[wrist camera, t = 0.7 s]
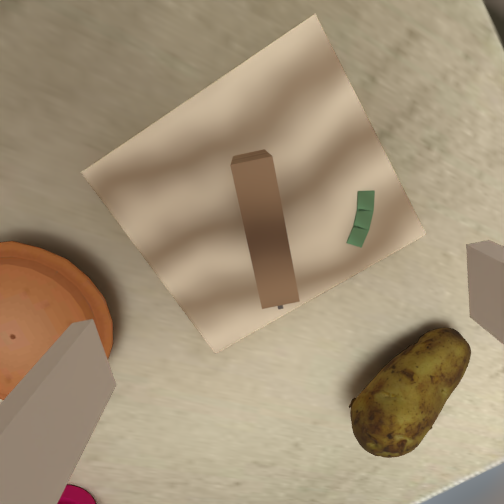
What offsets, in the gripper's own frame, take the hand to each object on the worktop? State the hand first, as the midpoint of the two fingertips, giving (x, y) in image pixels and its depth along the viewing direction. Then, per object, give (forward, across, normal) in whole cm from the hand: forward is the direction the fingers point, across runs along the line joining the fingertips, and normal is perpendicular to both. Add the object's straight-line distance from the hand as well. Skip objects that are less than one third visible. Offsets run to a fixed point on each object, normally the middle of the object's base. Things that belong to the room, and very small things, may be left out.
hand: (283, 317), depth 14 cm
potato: (+23, +10, -19) cm, 31 cm away
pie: (+23, -22, -6) cm, 32 cm away
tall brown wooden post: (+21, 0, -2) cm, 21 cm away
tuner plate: (+22, 0, 0) cm, 22 cm away
